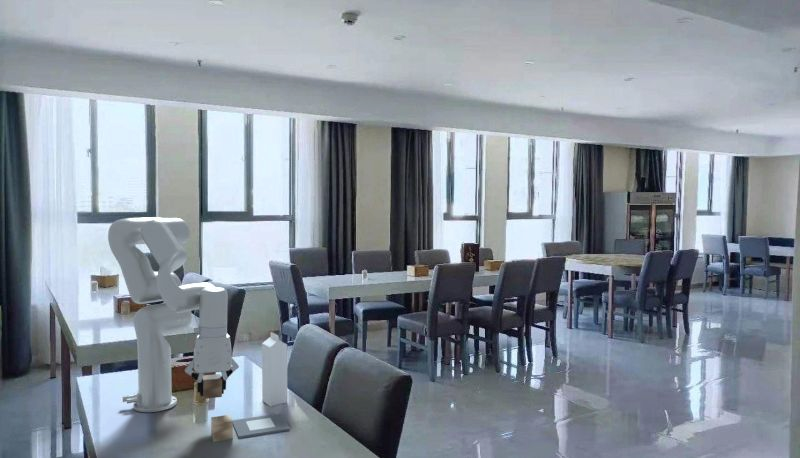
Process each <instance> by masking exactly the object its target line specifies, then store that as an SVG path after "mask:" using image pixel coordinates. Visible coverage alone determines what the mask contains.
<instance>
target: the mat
mask: <svg viewBox="0 0 800 458" xmlns="http://www.w3.org/2000/svg"><path fill="white" fill-rule="evenodd" d="M232 421H233V429H234V431H235V433H236V436H237V438H238V439H244V438H249V437H256V436H261V435H262V436H263V435H267V434H269V435H270V434H274V433H281V432H282V433H283V432H287V431H290V427H289V425H288V423H287V422H286V421H285V419H284V417H283V416H282V414H281V413H280V412H279V413H274V414H273V413H272V414H268V415H267V414H266V415H259V416H252V417H246V418H238V419H232Z"/></svg>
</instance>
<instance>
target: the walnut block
mask: <svg viewBox="0 0 800 458" xmlns="http://www.w3.org/2000/svg"><path fill="white" fill-rule="evenodd" d="M221 376H222V374H221V373H218V374H217V373H214V374H204V375H203V378H202V379H203V396H202V399H204V400H206V399H213V398H214V399H216V398H222V396H223V394H222V378H221Z"/></svg>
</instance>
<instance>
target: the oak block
mask: <svg viewBox="0 0 800 458" xmlns="http://www.w3.org/2000/svg"><path fill="white" fill-rule="evenodd" d="M210 420H211V421H210V426H211V432H210V433H211V439H212V440H213V442H219V441H220V442H221V441H228V440H233V439H234V438H233V437H234V435H233V434H234V426H233V421H232V420H233V419H232V416H231V415H230V414H224V415H219V416H212V417H210Z"/></svg>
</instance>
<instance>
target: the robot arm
mask: <svg viewBox="0 0 800 458" xmlns="http://www.w3.org/2000/svg"><path fill="white" fill-rule="evenodd" d="M190 235H191V230H190V227H189V225H188V223H187V222H186V221H185V220H184V219H181V218H178V217H165V216H163V217H162V216H159V217H158V216H152V217H151V216H150V217H147V216H146V217H126V218H121V219H117V220H115V221H114V222H112V223H111V225H110V226H109V228H108V233H107V240H108V241H107V242H108V245H109V248H110V251H111V253H112V255H113V256H114V258H115V260H116V262H117V263H118V265H119V267H120V270H121V273H122V276H123V280H124V282H125V285H126V288H127V292H128V294H129V296H130V299H131V301H133V302H134V303H135V304H139V305H143V304H150V303H157V302H162V301H163V302H164V303H163V302H162V303H157V304H151V305H146V306H143V307H141V308H140V309H138V310H137V311H136V312H135V314H134V316H133V320H132V321H133V327H134V331H135V337H136V342H137V343H136V344H137V345H136V346H137V375H138V376H137V377H138V379H137V381H138V382H137V383H138V389H137V392H136V393H133V394H131V395H129V394H127V395H122V403H126V404H133V405H132V406H133V410H134V411H136V412H140V413H157V412H161V411H162V412H163V411H165V410H170V409H171V408H174V407H175V406H176V405H177V403H178V399H177V397H176V396H173V394H172V392H173V391H172V386H173V385H172V348H171V345H170V343H169V342H168V341H167V340H166V338H165V336H164V335H168V334H171V333H175V332H176V333H177V332H179V331H183V330H186V329H188V327H190V325H191V323H192V319H193V318H192V317H193V316H192V311H196V310H199V315H198V316H199V322H198V323H199V324H198V326H197V327H194V328H193V333H194V334H197V335H196V338H195V342H194V349H193V359H192V360H191V361H190V363H188V365H187V366H186V367H185V369H184V372H185V373H186V374H187V375H189V376H191V377H192V378H193V379H194V380H195V381H196V382H197V384H196V385H197V387H196V388H197V391H196V392H197V393H199V395H200V397H203V379H202V378H203V375H205V374H210V373H212V374H213V373H220V375H221V378H222V395H224V393H225V390H227V380H228V379H229V378H230V376H231V375H232V374H233V373H234V372H235V371H236V370H238V369H239V368H240V366H239V364H238V363H237V362H236V361H235V359H234V358H233V355H232V343H231V336H230V334H228V305H229V304H228V303H229V298H228V297H229V296H228V295H229V294H228V291H227V289H226V288H224V287H220V286H216V285H214V284H211V283H209V282H197V283H187V284H183V283H182V281H181V280H180V278H179V276H178V275H177V274H176V273H175V271H176V270H178V269H180V268H181V267H183V265H184V264H185V263H186V261H187V260H188V253H187V251H186V249H185V248H184V247H183V245H184V244H185V243H187V242H188V241H189V239H190V237H191V236H190ZM136 245H145V246H146V247H147V248H148V250H149V251H150V253H151V255H152V256H153V258H154V260H155V261H156V263H157V264H158V266H159V268H158V270H157V271H155V270H154V269H153V268H152V265H151V262H150V259H149V257H148V256H147V255H146V254H145V253H144V252H143V251H142V250H141V249H140V248H138V247H137V246H136Z"/></svg>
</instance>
